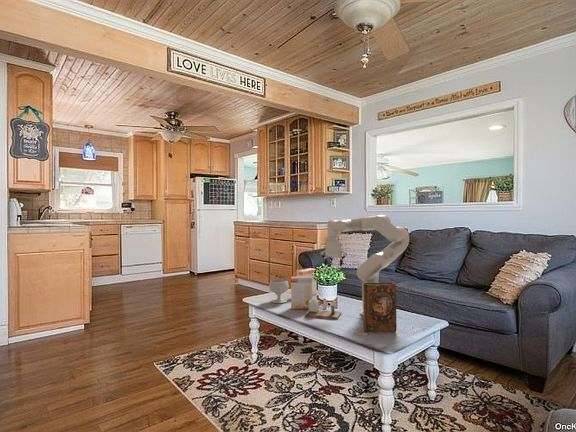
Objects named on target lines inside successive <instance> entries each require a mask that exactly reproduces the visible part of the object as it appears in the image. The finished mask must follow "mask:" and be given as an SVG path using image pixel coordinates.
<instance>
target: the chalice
mask: <svg viewBox="0 0 576 432" xmlns="http://www.w3.org/2000/svg"><path fill="white" fill-rule="evenodd" d="M289 288H290V286H289V282H288V280H287V279H284V278H275V279H274V278H273V279H271V280H270V281H269V283H268V289H269V290H270V292H272V293H274V294H275V295H276V296H277V298H274V299H271V300H270V303H273V304H284V303H287V302H288V299H285V298H281V296H282V295H283V294H284V293H285V292H287V291H288V290H289Z"/></svg>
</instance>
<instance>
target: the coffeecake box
mask: <svg viewBox="0 0 576 432" xmlns="http://www.w3.org/2000/svg"><path fill="white" fill-rule="evenodd" d="M315 270H316V271H317V269H316V268H312V267H310V268H309V267H308V268H302V269H296V270H295V271H296V276H312V273H313V272H315ZM317 285H318V284H317V279H316V280H315V279H314V278H313V277H312V286H313V296H315V295H317V294H318V291H317V287H318V286H317Z"/></svg>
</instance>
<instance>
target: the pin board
mask: <svg viewBox="0 0 576 432" xmlns="http://www.w3.org/2000/svg"><path fill="white" fill-rule="evenodd" d="M335 306H336V305H330V310H325V309H319V312H318V313H317V314H314V313H309V310H307V312H305V314H304V317H305V318H311V319H313V318H314V319H322V320H334V321H335V320H336V321H338V319H340V317H341V316H342V311H335Z"/></svg>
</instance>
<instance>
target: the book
mask: <svg viewBox="0 0 576 432" xmlns="http://www.w3.org/2000/svg"><path fill="white" fill-rule="evenodd" d="M362 283H363V282H362ZM363 298H364V316H363V332H364V333H366V334H371V333H372V334H373V333H374V334H375V333H376V334H377V333H378V334H382V333H385V334H386V333H396V332H397V327H398V326H397V286H396V284H393V283H392V282H378V283H363Z"/></svg>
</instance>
